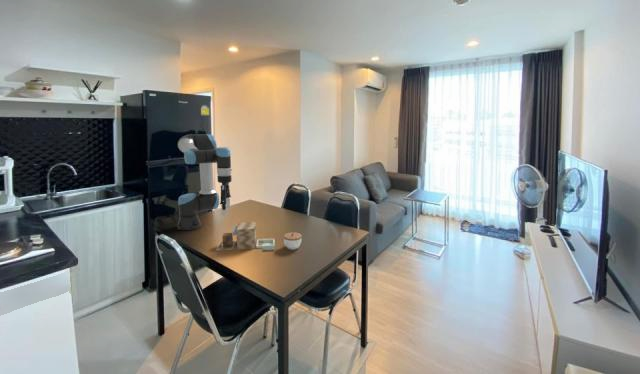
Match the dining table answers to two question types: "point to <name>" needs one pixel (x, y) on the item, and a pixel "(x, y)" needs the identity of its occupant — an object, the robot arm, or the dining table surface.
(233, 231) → the slide cover
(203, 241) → the dining table surface
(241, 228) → the brown patterned stepped stand
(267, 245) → the tray
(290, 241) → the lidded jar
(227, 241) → the treat block
